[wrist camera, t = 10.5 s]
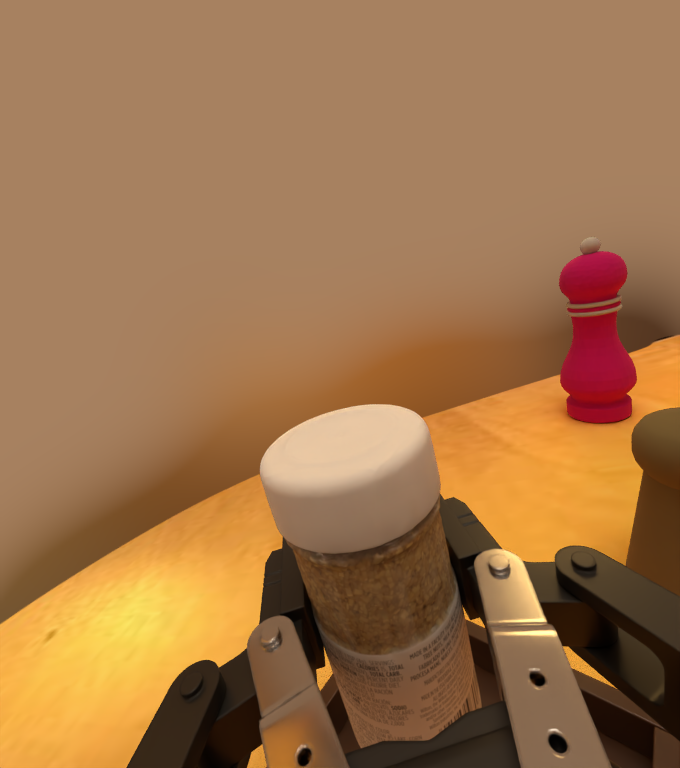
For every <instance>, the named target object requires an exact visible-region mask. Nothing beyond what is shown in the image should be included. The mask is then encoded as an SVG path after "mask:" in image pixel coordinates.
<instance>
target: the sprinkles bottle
mask: <svg viewBox="0 0 680 768" xmlns="http://www.w3.org/2000/svg"><path fill="white" fill-rule="evenodd" d="M260 477H261V481H262V484H263V487H264V490H265V493H266V496H267V500H268V503H269V506H270V508H271V511H272V514H273V517H274V520H275V523H276V525H277V528H278V530H279V532H280V533H281V535H282V536H283V537H284V538H285V540H286V542H287V544H288V545H289V546H290V547H291V548H292V549H293V552H294V554H295V557H296V561H297V564H298V567H299V570H300V572H301V575H302V579H303V582H304V584H305V586H306V589H307V593H308V597H309V599H310V602H311V607H312V611H313V615H314V619H315V622H316V625H317V628H318V630H319V633H320V636H321V639H322V642H323V645H324V648H325V651H326V654H327V656H328V659H329V662H330V665H331V668H332V671H333V674H334V677H335V680H336V683H337V686H338V688H339V691H340V694H341V697H342V700H343V703H344V706H345V708H346V711H347V714H348V717H349V720H350V723H351V725H352V728H353V731H354V734H355V737H356V739H357V741H358V743H359V745H360V747H361V748H364V747H367V746H369V745H372V744H375V743H378V742H381V741H425V740H430V739H432V738H433V737H435V736H436V735H437V734H439V733H440V732H441V731H443V730H444V729H445V728H447V727H448V726H449V725H451V724H452V723H453V722H455V721H456V720H457V719H459V718H460V717H461V716H462V715H464V714H465V713H467V712H470V711H473V710H476V709H479V708H482V705H481V697H480V692H479V687H478V682H477V677H476V672H475V667H474V662H473V657H472V651H471V646H470V641H469V636H468V631H467V626H466V621H465V616H464V611H463V607H462V602H461V597H460V592H459V587H458V582H457V578H456V574H455V571H454V569H453V567H452V564H451V562H450V557H449V552H448V548H447V544H446V540H445V533H444V530H443V526H442V519H441V516H440V512H439V508H440V485H441V484H440V477H439V472H438V467H437V462H436V458H435V453H434V449H433V444H432V440H431V436H430V432H429V429H428V426H427V424H426V423H425V421H424V420H423V419H422V418H421V417H420V416H419V415H418V414H416V413H415V412H413V411H411V410H409V409H406V408H403V407H400V406H394V405H382V404H379V405H378V404H376V405H375V404H372V405H361V406H354V407H349V408H344V409H340V410H336V411H332V412H329V413H326V414H323V415H320V416H317V417H315V418H312V419H310V420H307V421H305V422H303V423H301V424H299V425H298V426H296V427H294V428H292V429H291V430H289V431H287V432H286V433H284V434H283V435H282V436H281V437H279V438H278V439H277V440H276V441H275V442H274V443H273V444H272V445H271V446H270V447H269V448H268V450H267V451H266V452H265V454H264V456H263V458H262V461H261V465H260Z"/></svg>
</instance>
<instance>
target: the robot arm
mask: <svg viewBox="0 0 680 768" xmlns="http://www.w3.org/2000/svg"><path fill="white" fill-rule="evenodd" d="M439 512H440V516H441V519H442V526H443V530H444V533H445V540H446V544H447V548H448V552H449V557H450V562H451V564H452V567H453V569H454V571H455V574H456V578H457V582H458V587H459V592H460V597H461V602H462V605H463V607H464V609H465V611H466V613H467V615H468V616H469V618H470V620H473V619H476V618H479V617H480V618H481V620H482V622H483V624H484V625H485V629H486V634H487V639H488V644H489V649H490V653H491V658H492V662H493V667H494V672H495V676H496V681H497V685H498V690H499V694H500V699H501V701H500V702H497V703H494V704H491V705H488V706H485V707H482V708H479V709H476V710H473V711H470V712H467V713H465V714H464V715H462V716H461V717H460V718H459V719H457V720H456V721H455V722H453V723H452V724H451V725H449V726H448V727H447V728H445V729H444V730H443V731H441V732H440V733H439V734H437V735H436V736H435V737H433V738H432V739H430V740H425V741H381V742H378V743H375V744H372V745H369V746H367V747H364V748H361V749H358V750H355V751H352V752H349V753H346V754H344V752H343V749H342V746H341V744H340V741H339V739H338V736H337V734H336V731H335V728H334V726H333V723H332V721H331V718H330V716H329V713H328V710H327V708H326V705H325V703H324V700H323V698H322V695H321V692H320V690H319V687H318V685H317V675H316V669H319V668H322V667H325V657H324V645H323V642H322V639H321V636H320V633H319V630H318V628H317V625H316V622H315V619H314V615H313V611H312V607H311V602H310V599H309V597H308V593H307V589H306V586H305V584H304V582H303V579H302V575H301V572H300V570H299V567H298V564H297V561H296V557H295V554H294V552H293V549H292V548H291V547H290V546H289V545H288V544H287V542H286V540H285V538H284V537H283V545H282V549H279V550H275V551H272V553H271V555H270V556H269V558H268V560H267V562H266V564H265V574H264V576H265V578H264V583H263V586H264V588H263V593H262V603H261V613H260V622H259V625H258V626H257V627H256V628H255V630H254V631H253V632H252V634H251V636H250V638H249V640H248V644H247V648H246V649H245V650H244V651H243V652H242V653H241V654H239V655H238V656H237V657H235V658H234V659H232V660H230V661H229V662H227V663H226V664H224V665H223V666H221V667H220V668H218V666H217V664H216V663H215V662H213V661H210V660H202V661H199V662H196V663H194V664H192V665H190V666H189V667H188V668H186V669H185V670H184V671H183V672H182V673H180V675H179V676H178V677H177V678H176V679H175V681H174V682H173V683H172V685H171V687H170V688H169V690H168V692H167V694H166V696H165V698H164V699H163V701H162V703H161V705H160V707H159V709H158V711H157V712H156V714H155V716H154V718H153V720H152V722H151V723H150V725H149V727H148V729H147V731H146V733H145V734H144V736H143V738H142V740H141V742H140V744H139V746H138V747H137V749H136V751H135V753H134V755H133V757H132V758H131V760H130V762H129V764H128V766H127V768H247V765H248V762H249V759H250V755H251V752H252V751H253V750H255V749H256V748H257V747H259V746H260V745H261V744H263V748H264V753H265V758H266V763H267V768H621V767H620V766H618V765H617V764H615V763H614V762H612V761H611V760H609V759H608V757H607V754H606V752H605V749H604V747H603V744H602V742H601V740H600V737H599V735H598V732H597V730H596V727H595V725H594V722H593V720H592V718H591V715H590V713H589V710H588V708H587V705H586V703H585V700H584V698H583V696H582V693H581V691H580V688H579V686H578V683H577V681H576V679H575V676H574V674H573V671H572V669H571V666H570V664H569V661H568V659H567V657H566V654H565V652H564V649H563V647H562V646H569V647H570V648H571V649H572V650H573V651H574V652H575V653H576V654H577V655H578V656H579V657H581V658H582V659H583V660H584V661H585V662H587V663H588V664H589V665H590V666H591V667H592V668H594V669H595V670H596V671H597V672H598V673H600V674H601V675H602V676H603V677H604V678H605V679H607V680H608V681H609V682H610V683H611V684H612V685H614V686H615V687H616V688H617V689H618V690H620V691H621V692H622V693H623V694H624V695H625V696H627V697H628V698H629V699H630V700H631V701H633V702H634V703H635V704H636V705H637V706H638V707H640V708H641V709H642V710H643V711H644V712H645V713H647V714H648V715H649V716H650V717H651V718H653V719H654V720H655V721H656V722H657V723H658V724H660V725H661V726H662V727H663V728H664V729H666V730H667V731H668V732H669V733H670V734H671V735H673V736H674V737H675V738H676V739H677V740H678V741H680V596H678V595H677V594H675V593H673V592H671V591H669V590H668V589H666V588H664V587H662V586H660V585H659V584H657V583H655V582H653V581H651V580H650V579H648V578H646V577H644V576H642V575H641V574H639V573H637V572H635V571H633V570H632V569H630V568H628V567H626V566H624V565H623V564H621V563H619V562H617V561H615V560H614V559H612V558H610V557H608V556H606V555H605V554H603V553H601V552H599V551H597V550H595V549H592V548H589V547H585V546H568V547H564V548H562V549H560V550H559V551H558V552H557V553H556V555H555V562H525V561H522V560H521V559H520V558H519V557H518V556H517V555H516V554H514V553H512V552H510V551H507V550H503V549H502V548H501V547H500V546H499V544H498V543H497V542H496V541H495V540H494V538H493V537H492V536H491V535H490V533H489V532H488V531H487V530H486V528H485V527H484V526H483V525H482V524H481V522H479V520H478V519H477V517H476V516H475V515H474V514H473V513H472V511H471V510H470V509H469V508H468V506H467V505H466V504H465V503H463V502H461V501H460V500H458V499H456V498H454V497H453V498H449V499H446V500H444V499H443V497H442V496H441V494H440V508H439Z"/></svg>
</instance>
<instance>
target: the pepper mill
mask: <svg viewBox="0 0 680 768" xmlns="http://www.w3.org/2000/svg"><path fill="white" fill-rule="evenodd" d="M600 245H601V244H600V241H599V240H598V239H597V238H595V237H590V238H587V239H585V240H584V241H583V242H582V243H581V246H580V250H581V252H582V253H583V254H584V255H581V256H578V257H576V258H574V259H573V260H571V261H570V262H569V263H568V264H567V265H566V266H565V267H564V268H563V270H562V272H561V275H560V279H559V281H560V282H559V286H560V289H561V291H562V293H563V294H564V295H566V296H567V297H568V298H569V300H570V301H569V302H568V303H567V304H566V307H568V308H567V310H568V311H567V315H568V316H571V318H572V323H573V341H572V345H571V348H570V350H569V352H568V354H567V357H566V359H565V361H564V363H563V366H562V370H561V378H560V383H561V386H562V387H563V389H564V390H565V391H566V392H568V393H569V394H570V396H569V397H568V398H567V400H566V401H567V412H568V414H569V415H570V416H571V417H573V418H574V419H577V420H580V421H585V422H592V423H609V422H616V421H620V420H623V419H625V418H627V417H629V416H630V415H631V413H632V399H631V397H630V396H629V395H627V393H628V392H629V391H630V390H631V389H632V388H633V387H634V385H635V384H636V381H637V376H636V369H635V366H634V364H633V361H632V359H631V358H630V356H629V355H628V353H627V352H626V350H625V349H624V347H623V345H622V344H621V342H620V340H619V337H618V334H617V327H616V317H617V310H620V309H621V308H622V305H621V304H620V303H621V302H620V300H621V298H622V297H621V295H617V293H618V291H619V289H620V288H621V287H622V285H623V284H624V283H625V281H626V278H627V268H626V265H625V262H624V260H623V259H622V258H621V257H620V256H618V255H616V254H614V253H610V252H604V251H600V252H597V251H598V250H599V248H600Z"/></svg>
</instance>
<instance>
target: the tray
mask: <svg viewBox="0 0 680 768" xmlns="http://www.w3.org/2000/svg"><path fill="white" fill-rule="evenodd" d="M465 621H466V626H467V631H468V636H469V641H470V646H471V651H472V657H473V662H474V667H475V672H476V677H477V682H478V687H479V692H480V697H481V705H482V707H485V706H488V705H491V704H494V703H497V702H500V701H501V699H500V694H499V690H498V685H497V681H496V676H495V672H494V667H493V662H492V658H491V653H490V649H489V644H488V639H487V634H486V629H485V628H483V627H481V626H479V625H477V624H475V623H473V622H470V621H468V620H466V619H465ZM571 669H572V668H571ZM572 671H573V674H574V676H575V679H576V681H577V683H578V686H579V688H580V691H581V693H582V696H583V698H584V700H585V703H586V705H587V708H588V710H589V713H590V715H591V718H592V720H593V722H594V725H595V727H596V730H597V732H598V735H599V737H600V740H601V742H602V744H603V747H604V749H605V752H606V754H607V757H608V759H609V760H611V761H612V762H614V763H615V764H617V765H618V766H620V767H621V768H680V741H678V740H677V739H676V738H675V737H674V736H673V735H671V734H670V733H669V732H668V731H667V730H666V729H664V728H663V727H662V726H661V725H660V724H658V723H657V722H656V721H655V720H654V719H653V718H651V717H650V716H649V715H648V714H647V713H645V712H644V711H643V710H642V709H641V708H640V707H638V706H637V705H636V704H635V703H634V702H633V701H631V700H630V699H629V698H628V697H627V696H625V695H624V694H623V693H622V692H621V691H620V690H618V689H616V688H614V687H611V686H609V685H607V684H605V683H603V682H601V681H598V680H596V679H594V678H592V677H590V676H588V675H585V674H583V673H581V672H579V671H577V670H575V669H572ZM320 692H321V695H322V698H323V700H324V703H325V705H326V708H327V710H328V713H329V716H330V718H331V721H332V723H333V726H334V728H335V731H336V734H337V736H338V739H339V741H340V744H341V746H342V749H343V752H344V754H346V753H349V752H352V751H355V750H358V749H361V747H360V745H359V743H358V741H357V739H356V737H355V734H354V731H353V728H352V725H351V723H350V720H349V717H348V714H347V711H346V708H345V706H344V703H343V700H342V697H341V694H340V691H339V688H338V686H337V683H336V680H335V677H334V674H332V676H331V677H330V679H329V680H328V681H327V683H326V684H325V686H324V687H323V688H322V690H321V691H320ZM266 768H267V767H266Z"/></svg>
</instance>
